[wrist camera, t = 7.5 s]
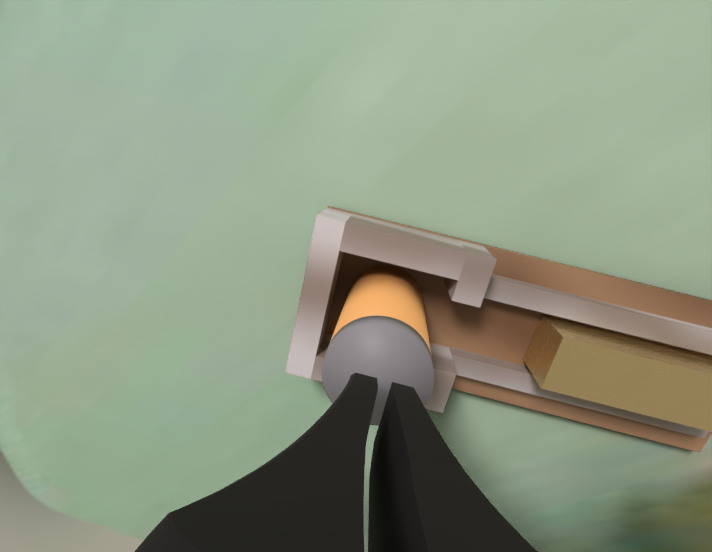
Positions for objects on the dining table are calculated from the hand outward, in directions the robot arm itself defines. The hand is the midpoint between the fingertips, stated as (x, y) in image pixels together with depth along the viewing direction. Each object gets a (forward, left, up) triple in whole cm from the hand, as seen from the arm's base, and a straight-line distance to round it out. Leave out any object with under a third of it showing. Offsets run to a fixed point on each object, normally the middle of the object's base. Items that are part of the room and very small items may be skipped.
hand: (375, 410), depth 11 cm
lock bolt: (0, -11, -9) cm, 14 cm away
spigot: (0, 0, -9) cm, 9 cm away
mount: (0, -7, -9) cm, 12 cm away
